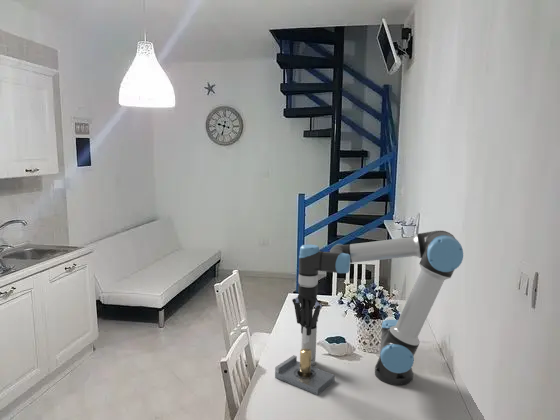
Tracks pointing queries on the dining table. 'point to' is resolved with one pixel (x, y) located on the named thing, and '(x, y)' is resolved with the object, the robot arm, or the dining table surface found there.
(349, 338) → the dining table surface
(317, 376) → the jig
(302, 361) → the gold metal cylinder
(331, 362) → the dining table surface
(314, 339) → the travel mug
